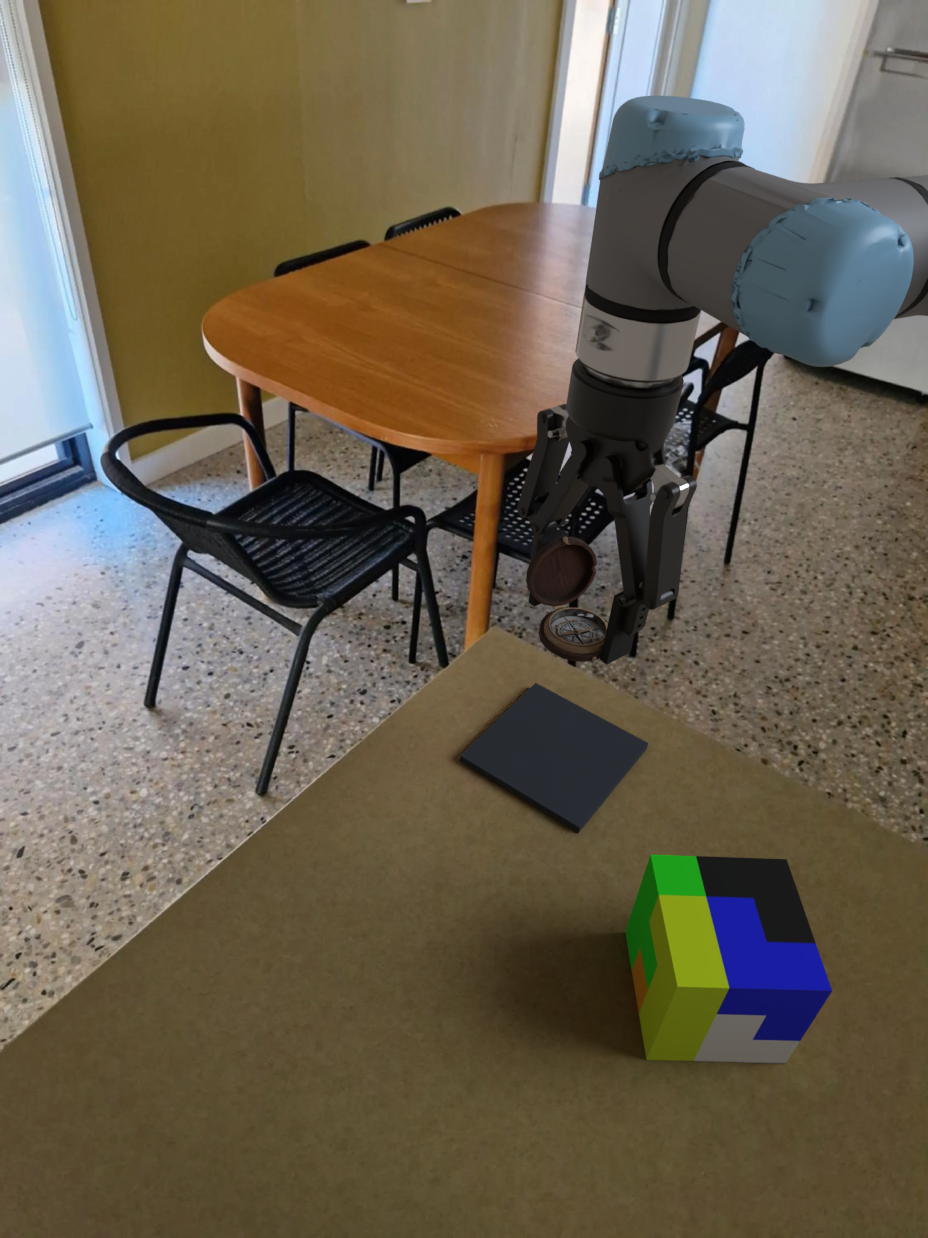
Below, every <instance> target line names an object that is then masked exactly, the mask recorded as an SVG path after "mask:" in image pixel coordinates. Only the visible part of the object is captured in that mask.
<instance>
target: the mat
mask: <svg viewBox="0 0 928 1238" xmlns="http://www.w3.org/2000/svg"><path fill="white" fill-rule="evenodd" d="M648 746H649V743H648V742H647V741H645V740H644V739H642V738H640V737H638V736H636V735H634V734H632V733H630V732H629V731H627V730H625V729H623V728H622V727H619V726H618V725H616V724H614V723H612V722H610V721H608V720H606V719H604V718H602V717H600V716H598V715H597V714H595V713H593V712H591V711H589V710H587V709H585V708H584V707H582V706H580V705H578V704H576V703H575V702H572V701H571V700H569V699H567V698H565V697H563V696H561V695H559V694H557V693H556V692H553V691H552V690H550V689H548V688H546V687H545V686H543V685H541V684H539V683H537V682H535V683H533V685H531V687H530V688H528V689H527V690H526V691H525V692H524V693H523V694H522V695H520V697H519V698H518V699H517V700H516V701H515V702H514V703H513V704H512V705H511V706H509V708H508V709H507V710H505V712H504V713H503V714H501V716H499V717H498V718H497V719H496V720H495V721H494V722H493V723H492V724H491V725H490V726H489V727H488V728H487V729H486V730H485V731H483V732H482V734H481V735H479V736H478V737H477V739H475V740H474V741H473V742H472V743H471V744H470V745H469V746H468V747H467V748H466V749H465V750H464V751H463V752H462V753H461V754H460V755H459V762H460V763H461V764H463V765H465V766H467V767H468V768H470V769H472V770H474V771H475V772H477V773H478V774H480V775H482V776H483V777H485V778H487V779H488V780H489V781H492V782H493V783H495V784H497V786H500V787H501V788H503V789H505V790H506V791H508V792H509V793H511V794H513V795H515V796H516V797H518V798H520V799H521V800H523V801H525V802H526V803H528V804H529V805H530V806H533V807H535V808H536V809H537V810H539V811H541V812H542V813H544V814H546V815H548V816H549V817H551V818H553V819H554V820H555V821H557V822H559V823H560V824H563V826H565V827H567V828H568V829H571V830H572V831H574V832H576V833H577V834H579V833H580V832H581V831H582V830H583V829H584V827H585V826H586V825H587V823H588V822H589V821H590V820H591V818H593V816H594V815H595V813H596V812H597V811H598V810H599V808H600V807H601V806H602V805H603V804H604V802H605V801H606V800H607V799H608V797H609V796H610V795H611V794H612V793H613V791H614V790H615V789H616V788H617V786H618V785H619V784H620V783H621V782H622V780H623V779H624V778H625V776H626V775H627V774H628V773H629V772H630V770H631V769H632V768H633V766H635V764H636V763H637V762H638V760H639V759H640V758H641V757H642V755H643V754H644V753H645V752H646V751H647V749H648Z"/></svg>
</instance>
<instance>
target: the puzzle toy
mask: <svg viewBox="0 0 928 1238" xmlns="http://www.w3.org/2000/svg"><path fill="white" fill-rule="evenodd" d="M801 899H802V898H801V897H800V894H799V891H798V888H797V885H796V882H795V878H794V877H793V874H792V870H791V868H790V865H789V862H788V859H787V858H764V857H763V858H762V857H735V856H734V857H733V856H705V855H675V854H650V855H649V857H648V861H647V864H646V868H645V870H644V873H643V875H642V879H641V882H640V885H639V888H638V891H637V894H636V897H635V901H634V904H633V906H632V910H631V913H630V916H629V918H628V921H627V925H626V928H625V931H624V933H625V938H626V945H627V950H628V957H629V963H630V969H631V974H632V981H633V986H634V992H635V993H634V994H635V1000H636V1005H637V1011H638V1017H639V1024H640V1029H641V1035H642V1041H643V1047H644V1054H645V1060H646V1061H670V1062H710V1063H711V1062H712V1063H714V1062H715V1063H751V1064H753V1063H754V1064H758V1063H759V1064H787V1062H788V1061H789V1059H790V1058H791V1056H792V1055H793V1053H794V1052H795V1050H796V1049H797V1047H798V1046H799V1044H800V1042H801V1041H802V1039H803V1038H804V1036H805V1035H806V1032H807V1031H808V1030H809V1028H810V1027H811V1025H812V1024H813V1022H814V1021H815V1019H816V1018H817V1015H818V1014H819V1012H820V1011H821V1009H822V1008H823V1007H824V1005H825V1003H826V1002H827V1000H828V999H829V997H830V995H831V994H832V993H833V989H832V986H831V983H830V981H829V980H830V979H829V977H828V975H827V971H826V969H825V966H824V963H823V960H822V957H821V954H820V951H819V949H818V946H817V943H816V940H815V937H814V934H813V931H812V928H811V925H810V923H809V920H808V917H807V914H806V911H805V908H804V906H803V902H802V900H801Z"/></svg>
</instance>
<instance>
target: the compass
mask: <svg viewBox="0 0 928 1238" xmlns="http://www.w3.org/2000/svg"><path fill="white" fill-rule="evenodd" d="M597 566H598V560H597V556H596V554H595V552H594V549H593V548H592V547H591V546H590V545H589V544H588V543H586V541H584V540H583V539H581V538H579V537H575V536H568V537H562V538H559V539H555V540H553V541H551V542H549V543H548V544H546V545H544V546H543V547H542V548H541V549H540V550H539V551H538V552H537V553H536V554H535V556H534V557H533V559H532V560H531V559H530V561H529V564H528V567H527V569H526V577H525V582H526V586H527V589H528V591H529V593H530V592H531V594H532V595H533V596H534V598H535V599H536V600H537V601H539V602H540V603H541V604H542V605H545V606H549V607H552V609H553V610H551V611H550V612H548V613H547V614H545V615H544V616H543V617H542V619H541V620H540V624H539V628H538V638H539V641H540V642H541V643H542V645H543V647H544V648H545V649H547V651H549V652H550V653H551V654H553V655H555V656H557V657H559V658H561V659H562V660H563V659H564V660H567V661H570V662H578V663H579V662H580V663H584V662H595V661H597V660H600V657H601V652H602V648H603V643H604V639H605V634H606V630H607V626H608V621H607V619H605V618H604V617H602V616H601V615H599V614H597V613H595V612H594V611H592V610H589V609H586V608H580V607H568V604H570V603H572V602H575V601H576V600H577V599H579V598H580V597H581V596H583V594H584V593H585V592H586V591H587V590H588V589H589V587H590V586H591V585H592V584H593V582H594V579H595V577H596V575H597V570H596V567H597Z"/></svg>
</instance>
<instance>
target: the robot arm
mask: <svg viewBox="0 0 928 1238" xmlns="http://www.w3.org/2000/svg"><path fill="white" fill-rule="evenodd" d="M744 133H745V119H744V117H743V116H742V115H741V113H740V112H739V111H737V110H735V109H734V108H733V107H730V106H729V105H725V104H723V103H719V102H715V101H711V100H706V99H699V98H692V97H686V96H676V95H674V96H673V95H642V96H637V97H633V98H630V99H629V100H627V101H625V102H623V103H622V104H621V105H620V106H619V107H618V109H617V110H616V112H615V113H614V116H613V118H612V123H611V127H610V132H609V135H608V136H609V137H608V142H607V145H606V151H605V156H604V160H603V164H602V169H601V170H600V171H599V173H598V181H599V184H598V185H599V186H598V192H597V201H596V208H595V214H594V221H593V227H592V228H593V229H592V235H591V242H590V248H589V249H590V250H589V256H588V263H587V270H586V277H585V286H584V293H583V296H582V297H583V298H582V305H581V310H580V318H579V323H578V330H577V339H576V345H575V350H574V351H575V354H576V357H577V358H576V359H575V361H574V362H573V363H572V365H571V371H570V379H569V384H568V390H567V396H566V403H562V404H559V405H557V406H553V407H549V408H545V409H543V410H540V411H538V412H537V416H536V440H535V444H534V447H533V451H532V455H531V458H530V461H529V465H528V468H527V471H526V475H525V478H524V482H523V486H522V489H521V493H520V497H519V499H518V503H517V507H516V510H517V515H518V516H519V517H520V518H521V519H526V518H527V520H528V521H529V522H530V530H531V532H532V533H533V536H532V542H531V548H530V549H531V550H530V557H529V558H530V561H531V560H532V559H533V557H534V556H535V554H536V553H537V552H538V551H539V550H540V549H541V548H542V547H543V546H544V545H546V544H548V543H549V542H551V541H553V540H555V539H559V538H562V537H569V533H568V532H567V531H565V530H564V529H559V530H558V528H560V527H563V526H565V525H568V524H569V522H568V521H567V519H568V517H569V516H570V514H571V512H572V511H573V509H574V508H575V506H576V505H577V504H578V502H579V501H580V500H581V498H582V496H583V495H584V494H585V492H586V491H587V489H588V488H589V487H590V486H592V487H594V488H596V489H597V490H598V491H599V492H600V493H601V494H602V495H603V496H605V497H606V506H607V511H608V513H609V514H610V515H611V516H612V517H613V520H614V528H615V535H616V537H615V538H616V544H617V552H618V561H619V566H620V567H619V568H620V575H621V583H622V591H620V592H618V593H616V594H613V599H612V603H611V607H610V611H609V616H608V621H607V622H608V626H607V630H606V634H605V639H604V643H603V648H602V652H601V657H600V659H599V661H601V663H604V664H605V665H606V666H607V665H609V664H611V663H613V662H615V661H617V660H619V659H621V658H622V657H625V656H626V655H628V654H630V653H631V650H632V647H633V643H634V639H635V635H636V633H639V632H640V631H643V629H644V628H645V627H646V623H647V619H648V616H649V611H653V610H655V609H657V608H660V607H662V606H664V605H666V604H668V603H669V602H671V601H674V600H676V599H677V598H678V597H679V592H680V582H681V572H682V563H683V562H682V561H683V554H684V544H685V534H686V525H687V514H688V508H689V506H690V503H691V501H692V499H693V496H694V495H695V493H696V491H697V487H698V485H697V484H698V483H697V481H696V478H694V476H691V475H685V476H682V477H680V476H678V475H677V474H676V473H675V472H674V471H673V470H671V469H670V468H669V467H668V466H667V465H666V455H665V442H666V439H667V437H668V436H669V434H670V432H671V430H672V428H673V427H674V424H675V421H676V417H677V412H678V409H679V405H680V400H681V396H682V392H683V387H684V383H685V381H684V377H683V374H684V373H685V372H687V370H688V368H689V366H690V361H691V357H692V352H693V349H694V343H695V339H696V335H697V331H698V327H699V322H700V317H701V314H702V312H704V313H705V314H707V315H709V316H710V317H712V318H714V319H716V320H718V321H719V322H721V323H723V324H725V325H727V326H728V327H730V328H731V329H733V330H735V331H737V332H739V333H740V334H742V335H743V336H745V337H746V338H748V339H749V340H750V341H751V342H754V343H755V345H757V346H758V347H760V348H762V349H767V350H768V351H770V352H771V353H774V354H777V355H783V356H786V357H788V358H790V359H792V360H795V361H798V362H799V363H802V364H805V365H807V366H811V367H816V368H817V367H818V368H828V367H834V366H838V365H842V364H844V363H847V362H849V361H851V360H853V358H854V357H855V356H856V355H857V353H858V352H859V350H860V349H862V348H867V347H871V346H872V345H873V344H874V343H876V341H877V340H879V339H880V337H881V336H882V335H883V334H884V333H885V332H886V330H887V329H888V328H889V326H890V325H891V323H893V321H894V320H898V319H904V318H910V317H915V316H922V317H923V316H924V317H928V174H924V175H923V174H922V175H913V176H905V177H904V176H903V177H900V176H899V177H898V176H895V177H883V178H882V177H881V178H880V177H879V178H868V179H855V180H853V179H852V180H840V181H839V180H838V181H837V180H836V181H829V182H828V181H826V182H815V183H808V182H799V181H794V180H790V179H787V178H784V177H781V176H777V175H774V174H772V173H768V172H765V171H761V170H759V169H756V168H755V167H752V166H749V165H747V164H746V163H744V162H743V161H740V159H741V158H742V156H743V154H744V150H743V138H744ZM569 445H570V449H571V451H570V455H569V457H568V458H567V460H566V461H565V457H566V454H567V451H568V448H569ZM564 461H565V463H564ZM563 464H564V465H563ZM559 476H560V477H559ZM652 484H653V485H652ZM632 494H633V495H632ZM630 495H632V496H630ZM627 496H629V497H627ZM625 497H626V498H625ZM650 507H651V510H650ZM528 603H529V605H531V606H532V607H537V606H539V605H541V604H542V603H540V602H539V601H537V600H536V599H535V598H534V596H533V595H532V594H531V592H530V591H529V595H528Z"/></svg>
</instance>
